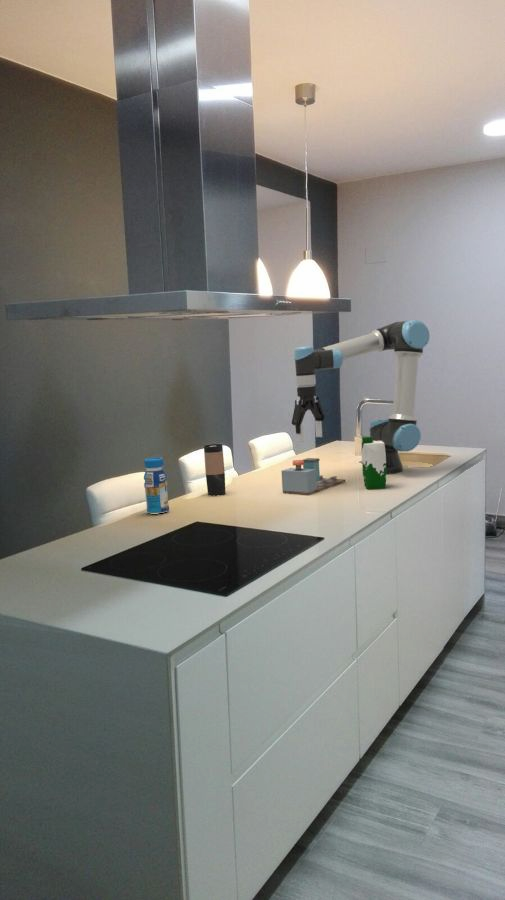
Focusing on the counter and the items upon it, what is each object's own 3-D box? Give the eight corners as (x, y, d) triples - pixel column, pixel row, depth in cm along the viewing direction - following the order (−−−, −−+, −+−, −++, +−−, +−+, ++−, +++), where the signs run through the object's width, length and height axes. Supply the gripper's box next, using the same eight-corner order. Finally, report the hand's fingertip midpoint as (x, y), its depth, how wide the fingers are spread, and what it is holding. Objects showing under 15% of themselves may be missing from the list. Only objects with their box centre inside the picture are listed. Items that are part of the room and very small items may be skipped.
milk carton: (362, 486, 287) (359, 436, 284) (385, 484, 286) (382, 434, 284) (365, 490, 278) (362, 439, 275) (388, 488, 278) (386, 437, 275)
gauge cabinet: (292, 487, 288) (290, 467, 287) (317, 489, 281) (316, 469, 280) (282, 490, 283) (281, 470, 282) (308, 492, 276) (306, 472, 275)
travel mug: (227, 491, 294) (223, 443, 291) (224, 495, 286) (221, 446, 284) (208, 492, 295) (205, 444, 292) (205, 496, 287) (202, 447, 284)
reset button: (297, 469, 284) (296, 459, 284) (306, 469, 281) (305, 460, 281) (290, 471, 281) (290, 461, 280) (300, 471, 278) (299, 461, 278)
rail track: (321, 480, 305) (320, 473, 305) (345, 481, 298) (345, 474, 297) (282, 493, 284) (282, 485, 283) (308, 495, 276) (307, 487, 276)
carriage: (309, 483, 292) (308, 457, 291) (320, 484, 289) (319, 458, 288) (303, 485, 289) (302, 459, 288) (314, 486, 286) (313, 460, 284)
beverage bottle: (143, 512, 266) (138, 458, 263) (165, 508, 269) (161, 456, 266) (150, 516, 258) (145, 461, 255) (172, 512, 261) (168, 458, 259)
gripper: (315, 383, 296) (318, 434, 298) (280, 389, 276) (284, 443, 279) (331, 383, 291) (334, 435, 294) (296, 388, 272) (299, 444, 275)
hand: (309, 439), depth 286 cm, fingers open, 13 cm apart
